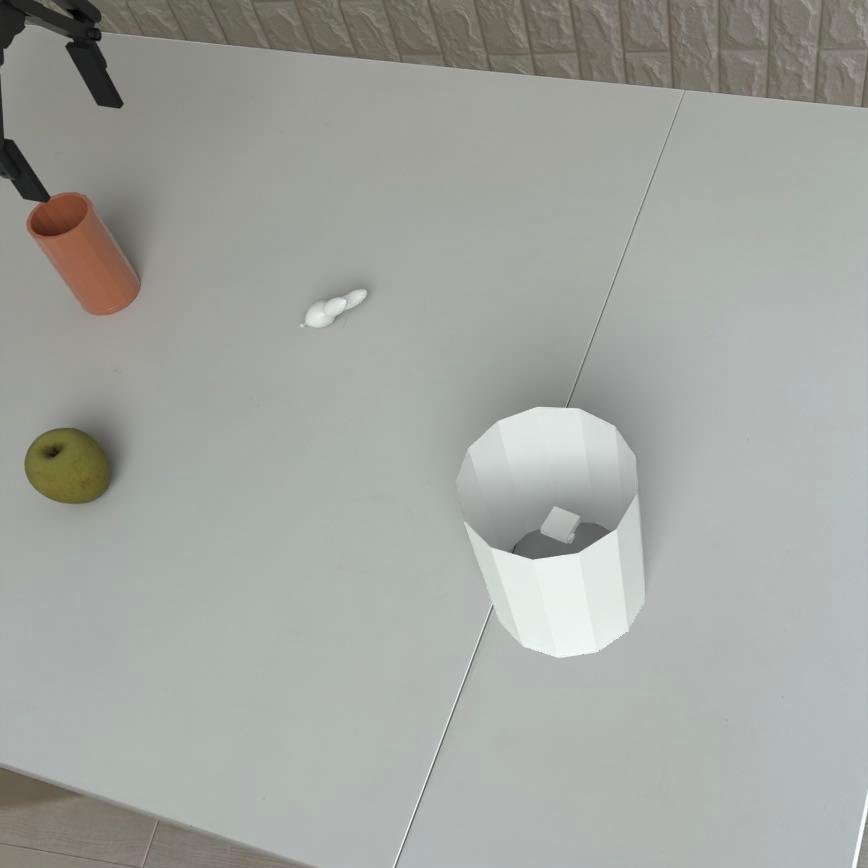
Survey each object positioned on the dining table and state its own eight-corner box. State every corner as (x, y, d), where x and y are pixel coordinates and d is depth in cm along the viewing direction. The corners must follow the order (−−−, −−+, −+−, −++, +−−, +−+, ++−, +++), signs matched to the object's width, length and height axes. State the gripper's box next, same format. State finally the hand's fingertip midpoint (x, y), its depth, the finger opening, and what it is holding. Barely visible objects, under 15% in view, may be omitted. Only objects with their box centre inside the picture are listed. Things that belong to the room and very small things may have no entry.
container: (600, 682, 92) (582, 586, 77) (463, 619, 97) (420, 517, 82) (671, 553, 98) (667, 440, 83) (538, 499, 103) (512, 383, 88)
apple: (75, 451, 114) (40, 411, 107) (136, 466, 111) (104, 426, 105) (37, 508, 110) (-1, 470, 104) (99, 525, 108) (64, 487, 102)
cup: (72, 316, 124) (17, 240, 114) (91, 270, 128) (38, 193, 118) (130, 314, 123) (79, 238, 113) (147, 268, 127) (99, 190, 117)
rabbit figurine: (310, 305, 120) (362, 275, 117) (328, 336, 121) (380, 307, 118) (284, 319, 115) (338, 288, 112) (303, 351, 116) (357, 321, 113)
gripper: (-117, 30, 76) (37, 247, 95) (64, -153, 88) (170, 72, 106) (-194, 20, 78) (-30, 234, 96) (-8, -157, 90) (108, 65, 108)
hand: (75, 150), depth 101 cm, fingers open, 13 cm apart
